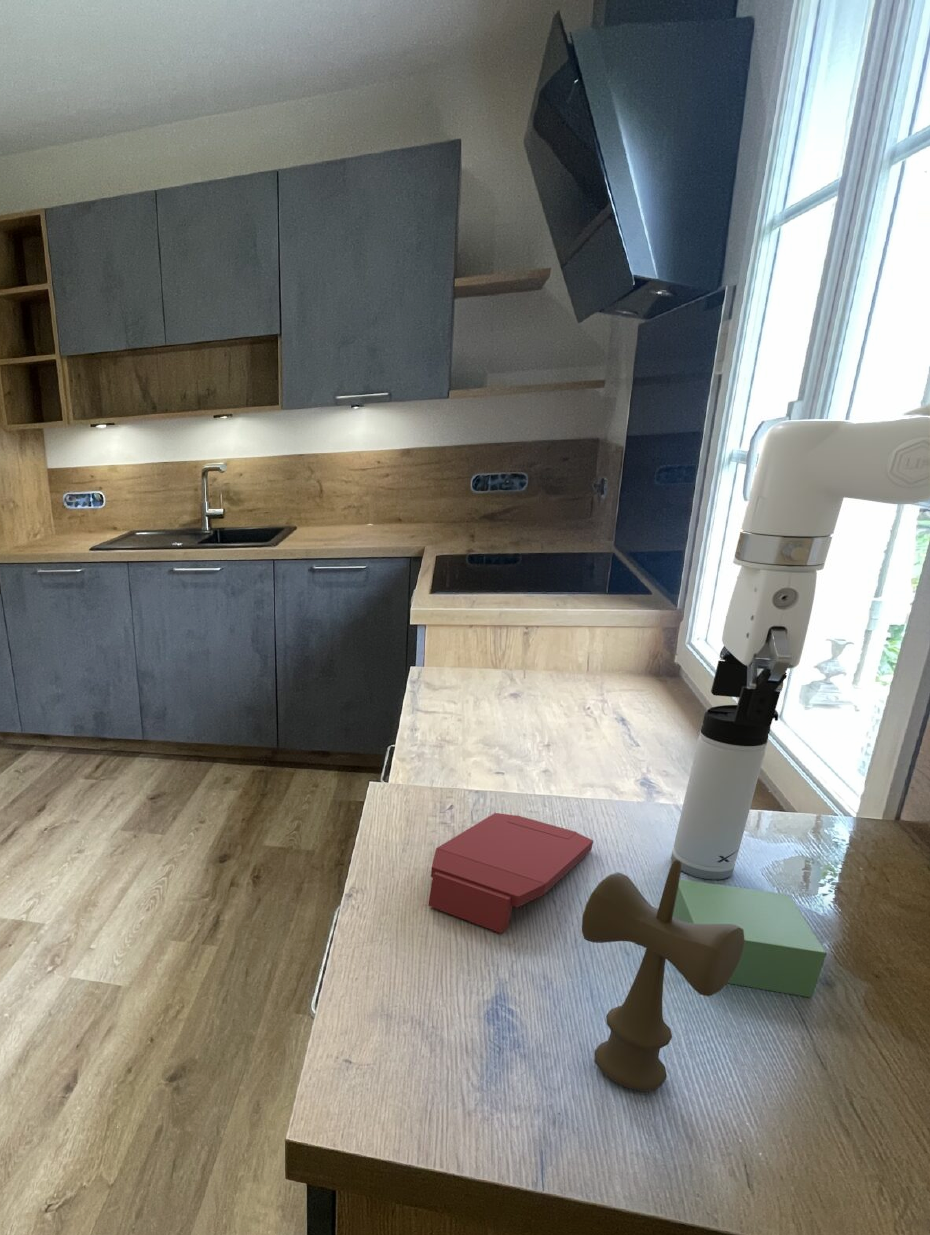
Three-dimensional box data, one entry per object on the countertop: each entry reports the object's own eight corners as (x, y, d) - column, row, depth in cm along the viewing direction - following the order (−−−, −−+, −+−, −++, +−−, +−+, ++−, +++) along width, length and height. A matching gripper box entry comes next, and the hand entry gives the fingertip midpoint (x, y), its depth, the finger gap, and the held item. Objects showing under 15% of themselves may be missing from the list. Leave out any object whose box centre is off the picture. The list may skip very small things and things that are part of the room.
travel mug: (737, 886, 89) (781, 721, 82) (669, 872, 93) (706, 712, 85) (735, 861, 94) (777, 704, 87) (671, 848, 97) (706, 695, 90)
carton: (492, 844, 107) (411, 899, 88) (498, 810, 105) (417, 858, 87) (588, 873, 99) (521, 940, 81) (596, 837, 98) (530, 897, 80)
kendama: (591, 1023, 70) (633, 823, 63) (709, 1092, 62) (771, 874, 55) (552, 1052, 67) (590, 846, 60) (670, 1128, 59) (731, 903, 52)
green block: (777, 935, 81) (790, 894, 79) (812, 998, 72) (827, 953, 70) (666, 918, 84) (675, 878, 82) (686, 976, 75) (697, 932, 74)
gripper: (860, 566, 71) (807, 742, 77) (796, 540, 86) (755, 688, 92) (762, 563, 73) (718, 733, 80) (716, 538, 88) (682, 683, 95)
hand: (738, 709), depth 86 cm, fingers open, 9 cm apart
